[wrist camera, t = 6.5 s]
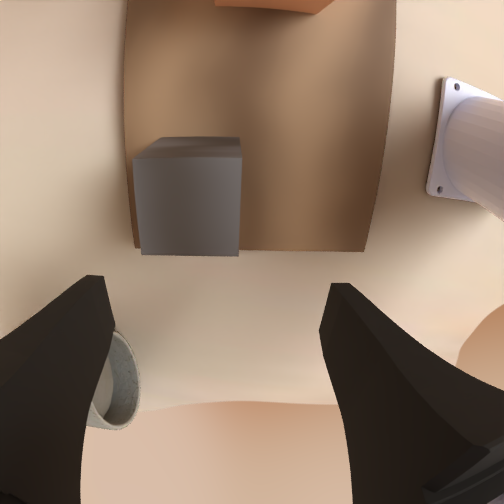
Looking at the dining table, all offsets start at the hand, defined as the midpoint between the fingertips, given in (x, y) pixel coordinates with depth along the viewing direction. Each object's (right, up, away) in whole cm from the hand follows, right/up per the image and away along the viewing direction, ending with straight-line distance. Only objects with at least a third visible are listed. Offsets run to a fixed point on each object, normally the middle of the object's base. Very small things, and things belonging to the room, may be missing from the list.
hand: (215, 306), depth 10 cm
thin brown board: (+2, +12, +4) cm, 13 cm away
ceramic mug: (-12, -7, +15) cm, 20 cm away
